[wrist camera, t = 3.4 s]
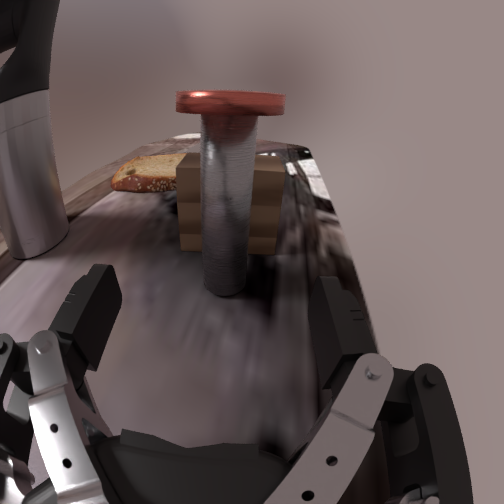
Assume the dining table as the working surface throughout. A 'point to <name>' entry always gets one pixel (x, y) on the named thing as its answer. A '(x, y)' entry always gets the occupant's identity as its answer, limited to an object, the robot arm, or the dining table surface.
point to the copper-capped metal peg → (227, 177)
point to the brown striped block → (262, 206)
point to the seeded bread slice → (148, 174)
